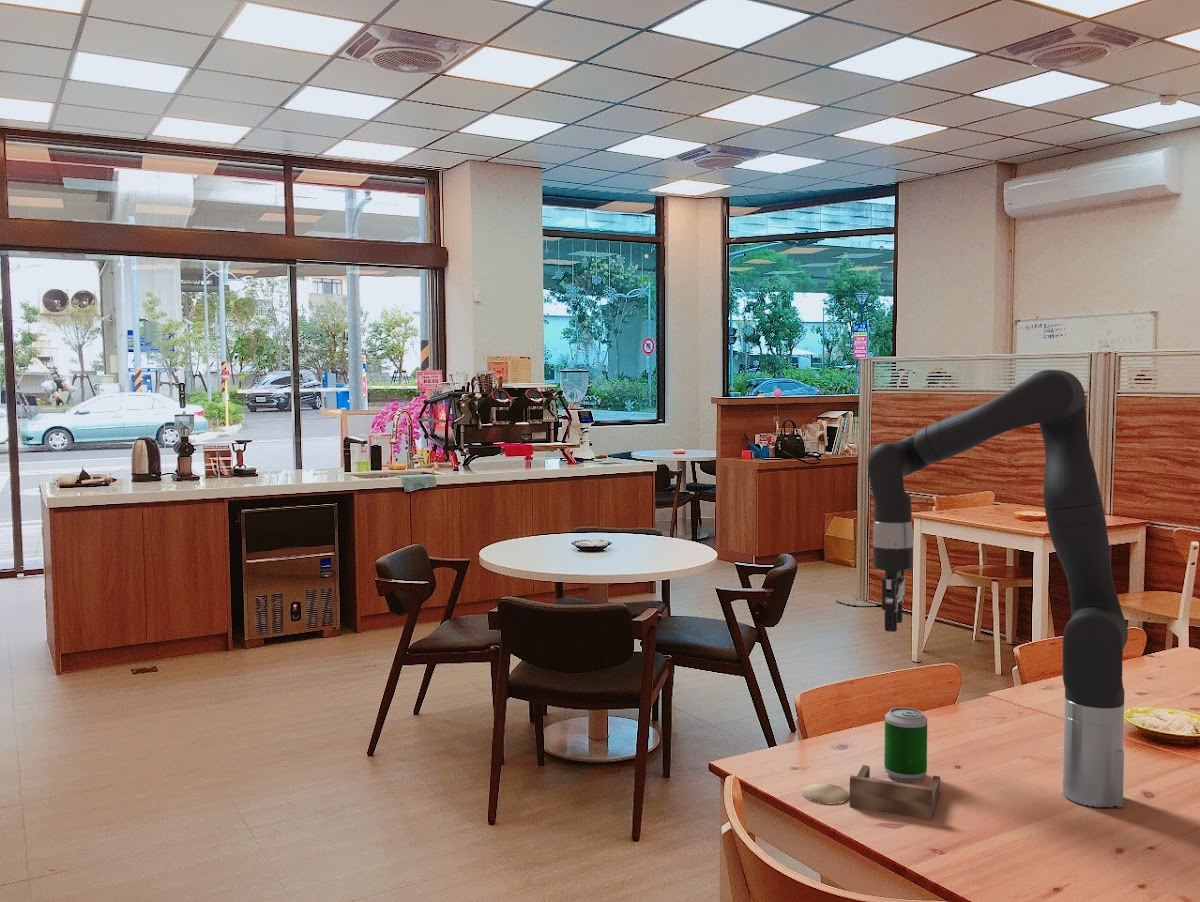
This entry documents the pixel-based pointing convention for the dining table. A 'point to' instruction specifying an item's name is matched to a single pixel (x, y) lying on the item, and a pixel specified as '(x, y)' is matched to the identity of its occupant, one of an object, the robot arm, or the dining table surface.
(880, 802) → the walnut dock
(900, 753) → the soda can
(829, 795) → the beige domed disc
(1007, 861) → the dining table surface
